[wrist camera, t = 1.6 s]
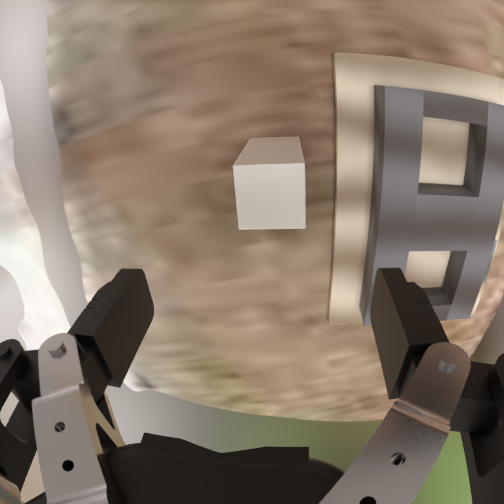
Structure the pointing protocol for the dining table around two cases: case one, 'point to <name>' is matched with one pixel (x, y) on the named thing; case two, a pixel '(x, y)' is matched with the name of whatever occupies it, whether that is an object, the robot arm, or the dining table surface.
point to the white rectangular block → (270, 184)
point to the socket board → (359, 163)
